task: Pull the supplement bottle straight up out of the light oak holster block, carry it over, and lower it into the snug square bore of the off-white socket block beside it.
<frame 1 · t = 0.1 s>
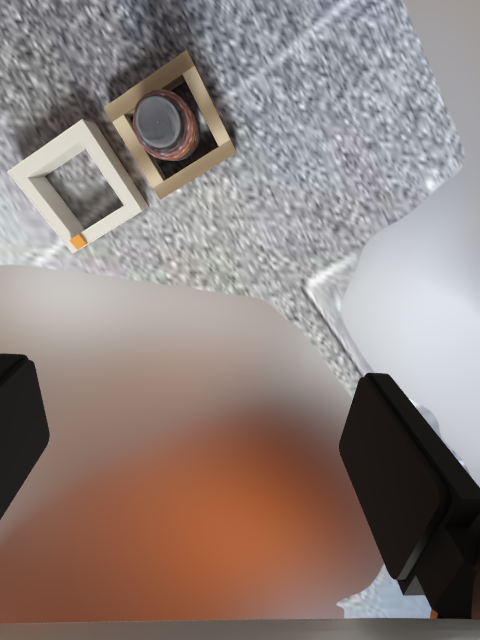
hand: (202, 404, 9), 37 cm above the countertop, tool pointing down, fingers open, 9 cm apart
holster block: (175, 133, 38), on the countertop
socket block: (89, 189, 40), on the countertop
supplement bottle: (176, 133, 38), resting in holster block
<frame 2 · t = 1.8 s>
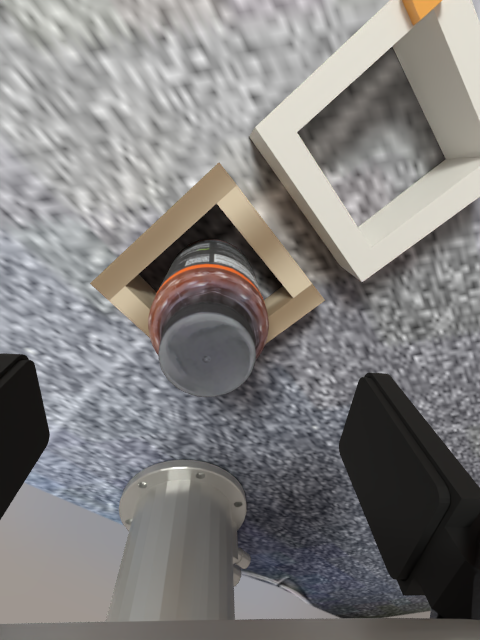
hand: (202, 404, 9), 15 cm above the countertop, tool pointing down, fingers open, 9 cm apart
holster block: (212, 278, 23), on the countertop
socket block: (366, 149, 20), on the countertop
supplement bottle: (212, 277, 23), resting in holster block
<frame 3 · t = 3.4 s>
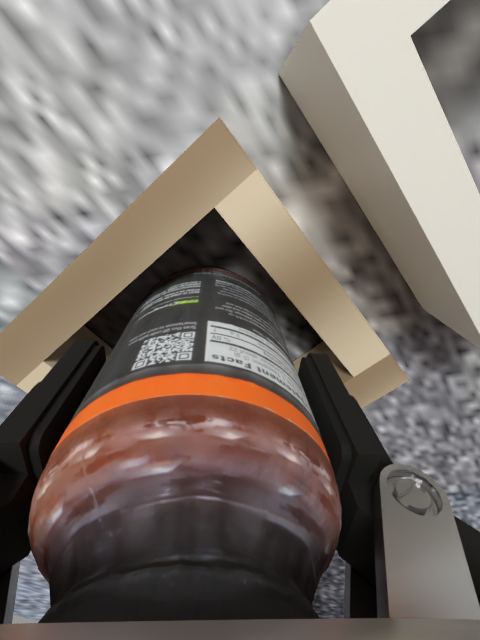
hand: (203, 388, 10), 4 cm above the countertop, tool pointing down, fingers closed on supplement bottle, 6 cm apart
holster block: (208, 329, 14), on the countertop
supplement bottle: (208, 327, 14), resting in holster block, touching gripper
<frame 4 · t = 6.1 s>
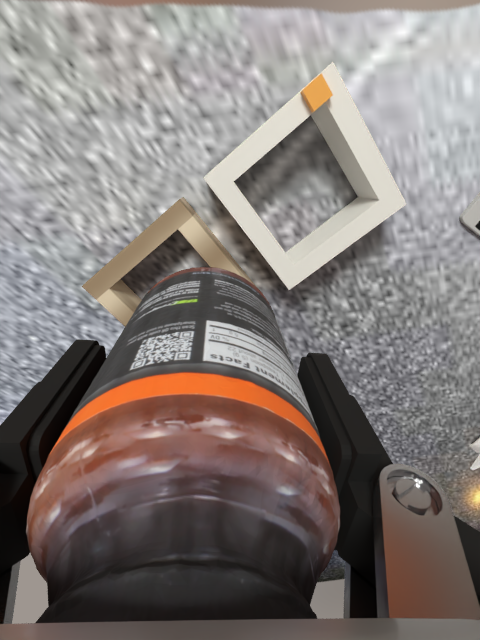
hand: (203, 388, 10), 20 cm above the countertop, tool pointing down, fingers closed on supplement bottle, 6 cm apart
holster block: (179, 283, 29), on the countertop
socket block: (296, 188, 26), on the countertop
supplement bottle: (207, 327, 14), point 16 cm above the countertop, touching gripper
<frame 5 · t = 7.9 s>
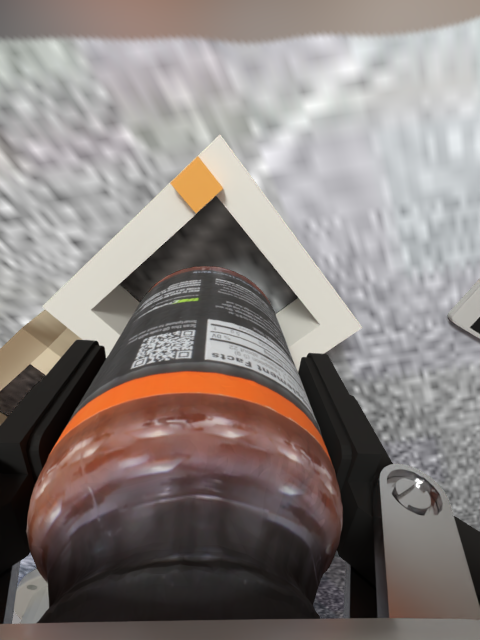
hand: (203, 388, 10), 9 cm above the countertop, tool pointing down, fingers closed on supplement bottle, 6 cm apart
holster block: (68, 405, 22), on the countertop
socket block: (211, 288, 19), on the countertop
supplement bottle: (208, 326, 14), point 5 cm above the countertop, touching gripper
when the fingers open (6 cm above the countertop, at t = 9.0 s): supplement bottle drops 2 cm, resting in socket block.
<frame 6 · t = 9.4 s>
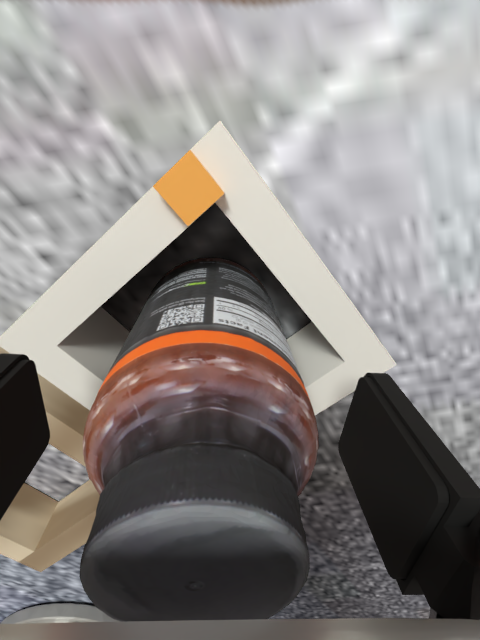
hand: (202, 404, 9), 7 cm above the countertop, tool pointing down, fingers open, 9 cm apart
holster block: (44, 442, 19), on the countertop
socket block: (210, 310, 15), on the countertop
supplement bottle: (212, 311, 16), resting in socket block
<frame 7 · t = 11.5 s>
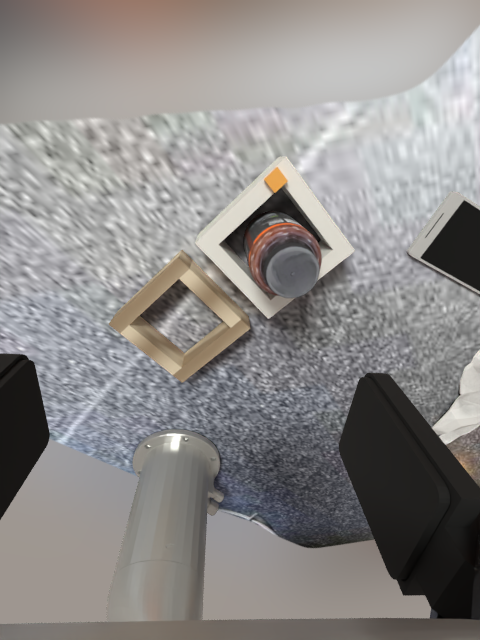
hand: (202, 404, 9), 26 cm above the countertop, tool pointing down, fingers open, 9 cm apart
holster block: (183, 314, 37), on the countertop
socket block: (270, 237, 33), on the countertop
smartphone: (476, 252, 35), on the countertop
supplement bottle: (271, 238, 33), resting in socket block
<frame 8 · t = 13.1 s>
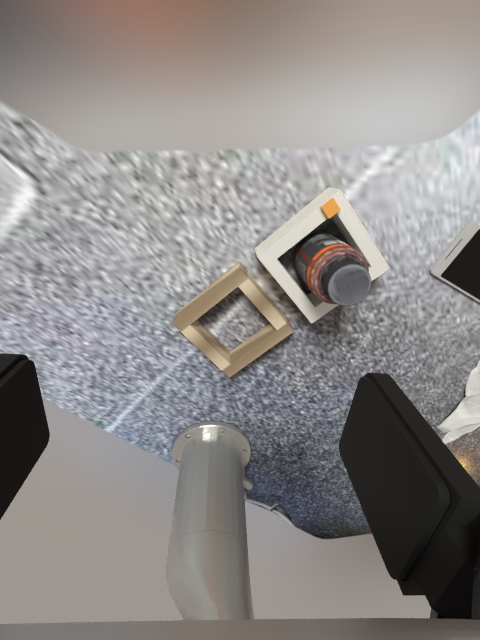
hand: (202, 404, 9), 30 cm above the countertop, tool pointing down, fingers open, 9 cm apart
holster block: (233, 317, 42), on the countertop
socket block: (315, 253, 39), on the countertop
supplement bottle: (315, 254, 39), resting in socket block
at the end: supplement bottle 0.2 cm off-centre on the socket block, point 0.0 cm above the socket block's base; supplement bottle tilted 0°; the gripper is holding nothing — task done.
